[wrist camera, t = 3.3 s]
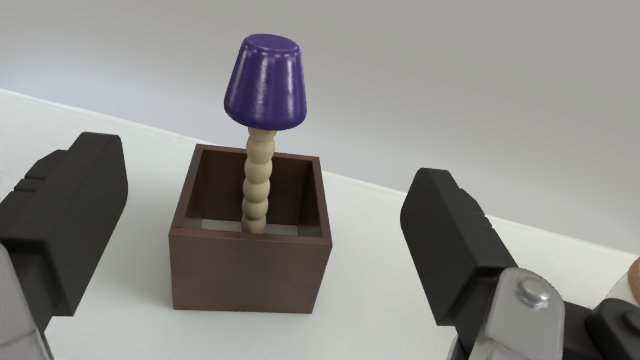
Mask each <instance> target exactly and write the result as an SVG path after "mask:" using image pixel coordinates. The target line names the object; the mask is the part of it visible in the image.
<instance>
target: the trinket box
mask: <svg viewBox="0 0 640 360" xmlns="http://www.w3.org/2000/svg"><path fill="white" fill-rule="evenodd" d="M607 298H617V299H621V300H625V301H627V302H630V303H632V304H634V305H636V306H637V307H639V308H640V257H639V258H638V259H637V260H636V261H635V262H634V263H633V264H632V265H631V266H630V268H629V270H628V271H627V272H626V273H625V274H624V275H623V276H622V277H621V278H620V279H619V280H618V281H617V283H616V284H615V285H614V286H613V287H612V289H611V290H610V292H609V293H608V294H607V296H606V298H605V299H607Z"/></svg>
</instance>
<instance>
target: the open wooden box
mask: <svg viewBox="0 0 640 360" xmlns="http://www.w3.org/2000/svg"><path fill="white" fill-rule="evenodd" d="M247 158H248V156H247V152H246V149H241V148H232V147H222V146H213V145H204V144H196V147H195V150H194V153H193V156H192V160H191V163H190V166H189V169H188V173H187V176H186V179H185V182H184V186H183V189H182V192H181V195H180V199H179V202H178V205H177V208H176V212H175V215H174V218H173V221H172V225H171V228H170V231H169V235H168V236H169V250H170V265H171V279H172V294H173V308H174V309H183V310H217V311H251V312H285V313H312V311H313V307H314V304H315V301H316V298H317V294H318V291H319V288H320V285H321V281H322V278H323V275H324V272H325V269H326V265H327V262H328V259H329V256H330V252H331V249H332V246H333V244H332V239H331V238H332V237H331V231H330V225H329V218H328V212H327V205H326V199H325V193H324V186H323V180H322V173H321V167H320V161H319V157H314V156H304V155H295V154H286V153H277V152H274V154H273V156H272V158H271V161H272V172H271V175H270V177H269V182H270V191H269V194H268V196H267V199H268V209H267V212H266V214H265V216H266V223H274V224H287V225H298V234H299V236H288V235H273V234H259V233H244V232H230V231H215V230H200V229H201V225H202V220H203V218H206V219H219V220H233V221H241V220H242V216H243V211H242V202H243V199H244V197H245V196H244V193H243V184H244V180H245V178H246V175H245V163H246V160H247Z"/></svg>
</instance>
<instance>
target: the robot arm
mask: <svg viewBox="0 0 640 360" xmlns="http://www.w3.org/2000/svg"><path fill="white" fill-rule="evenodd" d="M127 196H128V181H127V175H126V168H125V161H124V155H123V148H122V142H121V139H120V137H119V136H118V135H112V134H102V133H93V132H83V133H81V134H80V136H79V137H78V138H77V139H76V141H75V142H74V143H73V144H72V146H71V147H70V148H69V149H68V150H56V151H54V152H52V153H51V154H49V155H47V156H45V157H44V158H42V159H40V160H38V161H37V162H36V163H35V164H34V165H33V167H32V168H31V169H30V170H29V171H28V172H27V173H26V175H25V178H24V179H21V180H20V181H19V183H18V184H17V185H16V186H15V187H14V191H11V192H10V193H9V194H8V195H7V196H6V197H5V199H4V200H3V201H2V202H1V203H0V360H55V359H54V357H53V354H52V352H51V349H50V346H49V344H48V341H47V339H46V336H45V334H44V331H45V329H46V327H47V325H48V323H49V321H50V320H51V318H52V316H73V315H74V313H75V311H76V309H77V307H78V305H79V303H80V301H81V298H82V296H83V294H84V292H85V290H86V288H87V286H88V284H89V282H90V279H91V277H92V275H93V273H94V271H95V269H96V267H97V265H98V263H99V260H100V258H101V256H102V254H103V252H104V250H105V248H106V246H107V244H108V241H109V239H110V237H111V235H112V233H113V231H114V229H115V227H116V225H117V222H118V220H119V218H120V216H121V214H122V212H123V210H124V207H125V205H126V201H127ZM400 224H401V229H402V231H403V234H404V237H405V240H406V242H407V245H408V248H409V251H410V253H411V256H412V259H413V261H414V264H415V267H416V270H417V272H418V275H419V278H420V280H421V283H422V286H423V289H424V291H425V294H426V297H427V299H428V302H429V305H430V308H431V310H432V313H433V316H434V319H435V321H436V324H437V326H455V328H456V331H457V333H458V334H457V335H456V336H455V338H454V339H453V341H452V344H451V347H450V350H449V353H448V356H447V358H446V360H640V308H639V307H637V306H636V305H634V304H632V303H630V302H627V301H625V300H621V299H617V298H607V299H604V300H603V301H602V302H601V303H600V304H599V305H598V306H597V307H596V308H595V309H593V310H591V309H588V308H585V307H582V306H579V305H576V304H573V303H570V302H566V301H563V300H562V298H561V296H560V294H559V293H558V292H557V290H556V289H555V288H554V287H553V286H552V285H551V284H550V283H549V282H548V281H546V280H545V279H544V278H542V277H541V276H539V275H538V274H536V273H534V272H532V271H529V270H526V269H523V268H519V267H518V265H517V264H516V262H515V261H514V259H513V258H512V256H511V254H510V253H509V251H508V250H507V248H506V247H505V245H504V244H503V242H502V240H501V239H500V237H499V236H498V234H497V233H496V231H495V229H494V228H492V225H491V223H490V222H489V220H488V218H487V217H485V214H484V212H483V211H482V209H481V208H480V206H479V204H478V203H477V201H476V200H474V199H473V198H472V197H471V196H470V195H469V194H468V193H466V191H464V190H463V189H460V188H459V187H458V185H457V184H456V182H455V180H454V179H453V177H452V176H451V174H450V173H449V171H447V170H441V169H431V168H420V169H419V170H418V171H417V173H416V175H415V177H414V180H413V182H412V184H411V187H410V189H409V192H408V194H407V196H406V199H405V201H404V203H403V206H402V209H401V213H400Z"/></svg>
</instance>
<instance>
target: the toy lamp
mask: <svg viewBox="0 0 640 360" xmlns="http://www.w3.org/2000/svg"><path fill="white" fill-rule="evenodd" d="M224 109H225V111H226V113H227V114H228V115H229V117H231V118H232V119H233V120H234V121H236V122H238V123H240V124H242V125H244V126H247V127H248V131H249V134H250V136H249V138H248V140H247V144H246V152H247V156H248V158H247V160H246V163H245V175H246V178H245V180H244V184H243V193H244V196H245V197H244V199H243V202H242V211H243V216H242V220H241V227H242V232H244V233H259V234H264V229H265V226H266V216H265V214H266V212H267V209H268V199H267V196H268V194H269V191H270V182H269V177H270V175H271V172H272V161H271V158H272V156H273V154H274V151H275V142H274V139H273V138H274V136H275V135H276V132H277V131H281V130H286V129H291V128H294V127H296V126H298V125H299V124H301V123H302V122H303V121H304V119H305V116H306V111H307V106H306V94H305V84H304V75H303V65H302V58H301V52H300V49H299V46H298V45H297V44H296V43H295V42H293V41H292V40H290V39H287V38H285V37H281V36H276V35H271V34H254V35H250V36H248V37H246V38H245V39H244V41H243V43H242V45H241V47H240V50H239V54H238V57H237V60H236V63H235V66H234V69H233V72H232V75H231V79H230V82H229V85H228V88H227V91H226V94H225V98H224Z"/></svg>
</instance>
